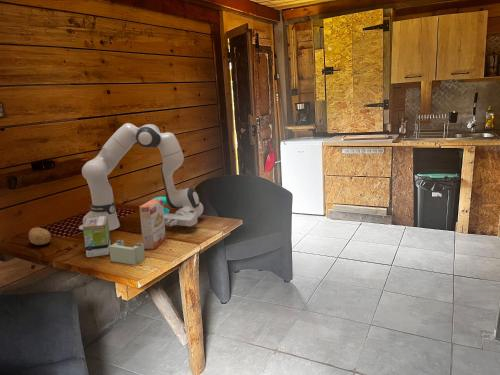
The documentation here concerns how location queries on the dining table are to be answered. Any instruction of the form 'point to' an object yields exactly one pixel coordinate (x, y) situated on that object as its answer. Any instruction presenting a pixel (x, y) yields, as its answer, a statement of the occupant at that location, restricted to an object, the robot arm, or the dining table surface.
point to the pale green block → (127, 253)
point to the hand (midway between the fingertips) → (168, 224)
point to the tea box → (96, 236)
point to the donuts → (163, 204)
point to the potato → (39, 236)
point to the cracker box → (152, 223)
